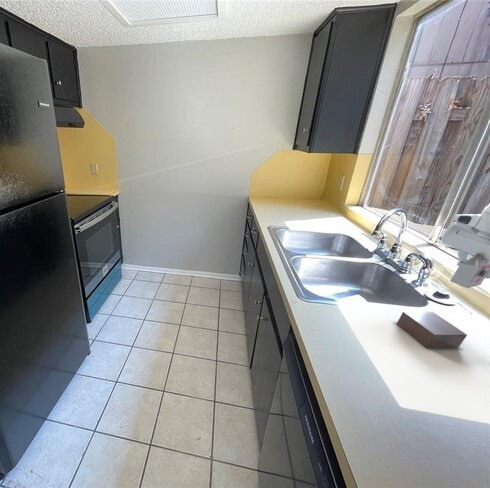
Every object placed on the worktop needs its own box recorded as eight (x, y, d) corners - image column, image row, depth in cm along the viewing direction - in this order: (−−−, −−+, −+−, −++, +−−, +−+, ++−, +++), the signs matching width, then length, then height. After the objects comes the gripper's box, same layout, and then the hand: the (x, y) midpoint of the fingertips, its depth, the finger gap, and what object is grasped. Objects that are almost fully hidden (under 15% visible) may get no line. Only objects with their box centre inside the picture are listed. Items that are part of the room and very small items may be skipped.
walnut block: (425, 323, 84) (432, 311, 82) (458, 347, 75) (467, 334, 73) (396, 323, 83) (403, 311, 81) (426, 347, 74) (434, 334, 72)
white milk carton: (450, 281, 75) (468, 250, 71) (463, 278, 77) (482, 247, 73) (466, 288, 72) (487, 256, 67) (480, 284, 74) (501, 253, 69)
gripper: (571, 242, 58) (531, 293, 63) (469, 214, 76) (446, 255, 82) (545, 241, 57) (507, 293, 63) (449, 213, 76) (427, 254, 82)
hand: (472, 271), depth 73 cm, fingers closed on white milk carton, 4 cm apart
